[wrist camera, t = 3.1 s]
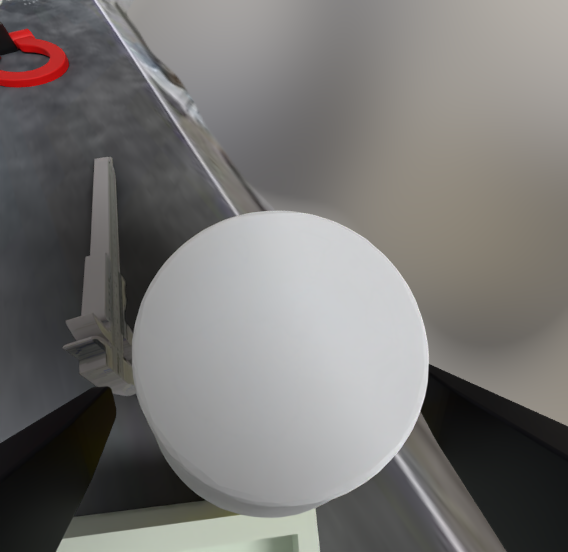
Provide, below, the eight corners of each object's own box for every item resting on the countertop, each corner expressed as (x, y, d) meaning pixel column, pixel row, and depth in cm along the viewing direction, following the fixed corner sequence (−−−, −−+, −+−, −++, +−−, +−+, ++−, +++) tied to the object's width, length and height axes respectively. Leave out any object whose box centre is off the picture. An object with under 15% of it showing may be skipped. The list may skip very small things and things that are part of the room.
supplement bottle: (226, 325, 17) (171, 143, 6) (325, 347, 17) (463, 207, 6) (188, 444, 14) (-108, 557, 3) (310, 472, 14) (565, 716, 2)
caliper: (153, 390, 15) (96, 373, 10) (133, 397, 15) (62, 385, 9) (114, 161, 23) (71, 83, 18) (100, 163, 23) (53, 84, 18)
